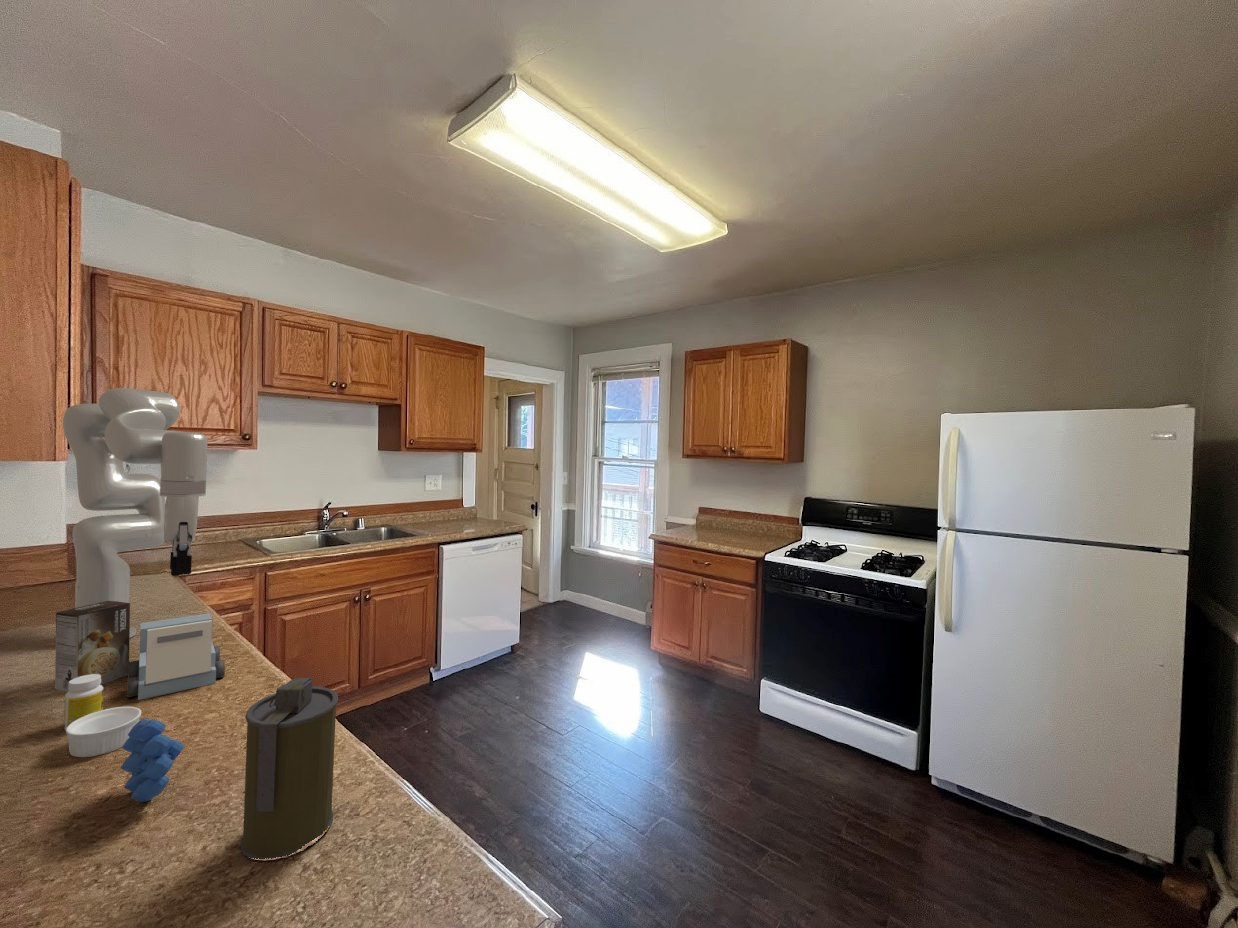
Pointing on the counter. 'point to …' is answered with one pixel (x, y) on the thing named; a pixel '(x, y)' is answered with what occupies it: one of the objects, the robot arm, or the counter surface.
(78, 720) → the ramekin
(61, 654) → the coffee box
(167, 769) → the grapes
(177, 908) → the counter surface
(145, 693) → the pale blue toy cart
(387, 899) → the counter surface
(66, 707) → the supplement bottle
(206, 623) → the panel
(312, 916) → the counter surface
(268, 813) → the canister
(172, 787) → the counter surface
